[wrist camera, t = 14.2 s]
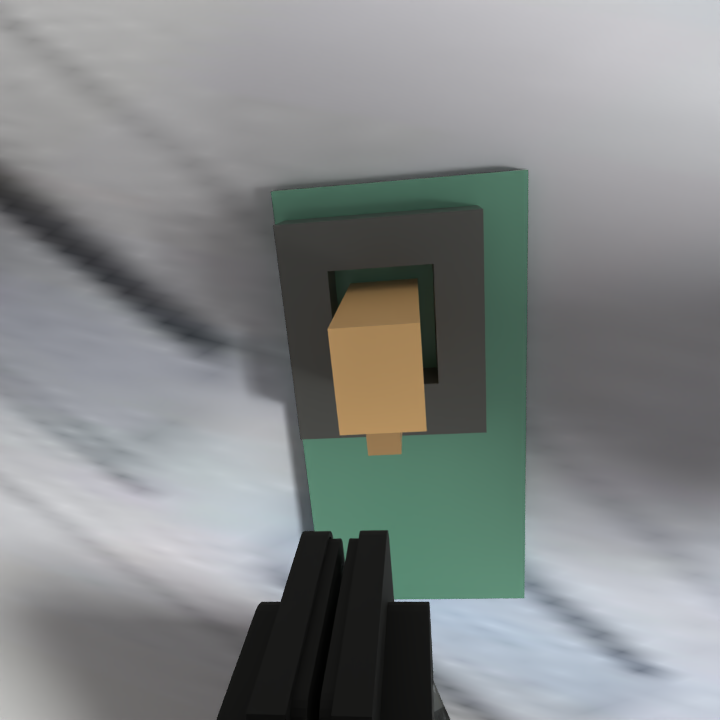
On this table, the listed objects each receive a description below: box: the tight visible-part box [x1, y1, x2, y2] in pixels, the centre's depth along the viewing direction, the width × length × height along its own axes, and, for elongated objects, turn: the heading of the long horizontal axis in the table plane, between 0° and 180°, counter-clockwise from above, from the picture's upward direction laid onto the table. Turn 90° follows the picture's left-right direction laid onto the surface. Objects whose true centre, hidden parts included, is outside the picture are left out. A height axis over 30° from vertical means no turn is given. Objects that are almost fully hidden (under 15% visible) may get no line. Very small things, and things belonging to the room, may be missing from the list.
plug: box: [328, 278, 427, 456], centre depth 27 cm, size 4×6×9 cm, turn 5°
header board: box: [271, 170, 528, 599], centre depth 32 cm, size 13×26×4 cm, turn 5°
